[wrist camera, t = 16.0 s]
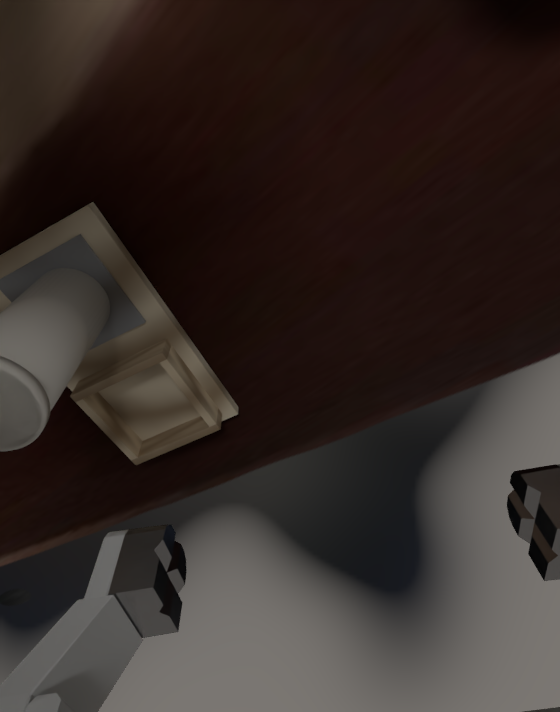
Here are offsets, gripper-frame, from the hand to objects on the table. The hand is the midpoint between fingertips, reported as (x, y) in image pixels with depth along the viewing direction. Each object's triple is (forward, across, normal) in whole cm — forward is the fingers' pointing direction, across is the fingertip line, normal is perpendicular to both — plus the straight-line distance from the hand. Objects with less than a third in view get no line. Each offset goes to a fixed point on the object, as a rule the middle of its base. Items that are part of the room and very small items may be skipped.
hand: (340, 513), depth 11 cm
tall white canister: (+30, +21, +5) cm, 36 cm away
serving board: (+31, +18, +11) cm, 37 cm away
